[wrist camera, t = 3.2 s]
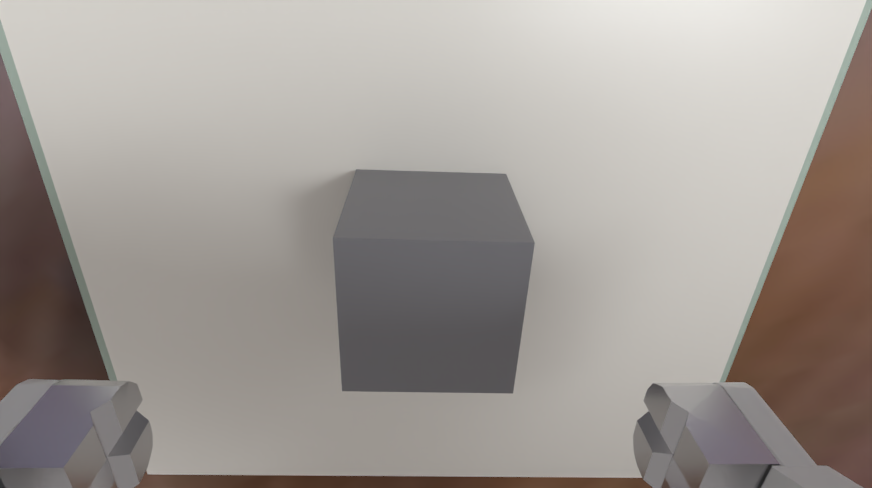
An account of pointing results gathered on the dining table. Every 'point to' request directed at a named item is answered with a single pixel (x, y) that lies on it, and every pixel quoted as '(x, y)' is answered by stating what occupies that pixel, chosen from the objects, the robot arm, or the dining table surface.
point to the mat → (2, 47)
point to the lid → (420, 214)
